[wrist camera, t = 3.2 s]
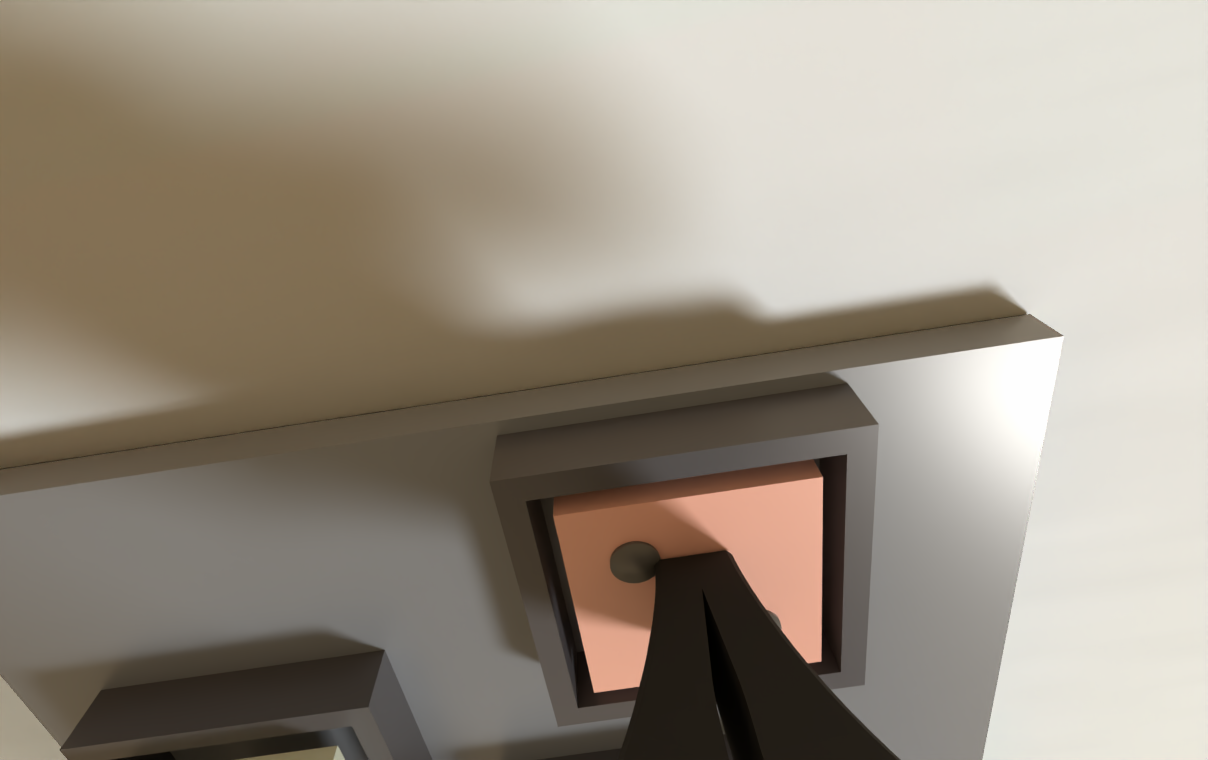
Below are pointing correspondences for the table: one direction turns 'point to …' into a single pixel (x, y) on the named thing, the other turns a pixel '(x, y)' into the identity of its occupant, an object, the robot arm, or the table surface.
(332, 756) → the key two
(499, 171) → the table surface
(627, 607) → the key three
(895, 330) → the table surface
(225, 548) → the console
